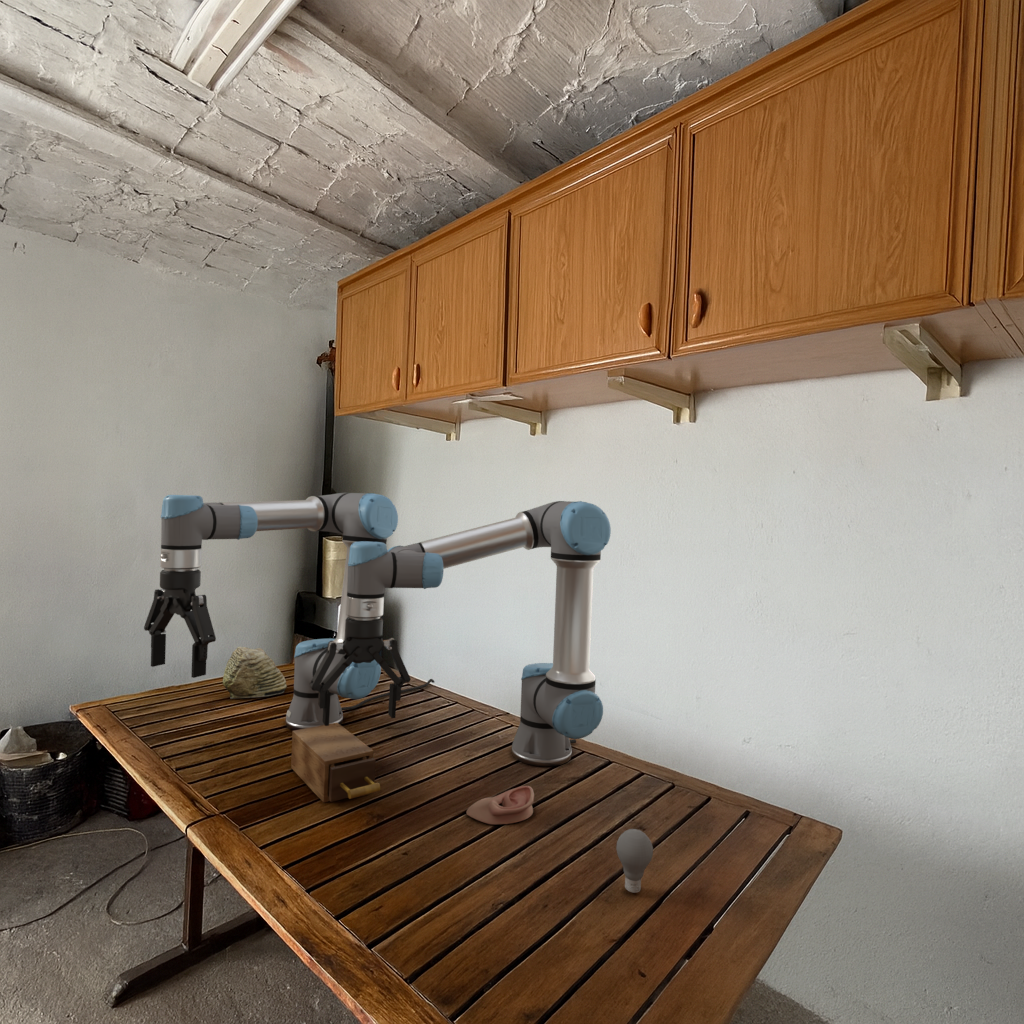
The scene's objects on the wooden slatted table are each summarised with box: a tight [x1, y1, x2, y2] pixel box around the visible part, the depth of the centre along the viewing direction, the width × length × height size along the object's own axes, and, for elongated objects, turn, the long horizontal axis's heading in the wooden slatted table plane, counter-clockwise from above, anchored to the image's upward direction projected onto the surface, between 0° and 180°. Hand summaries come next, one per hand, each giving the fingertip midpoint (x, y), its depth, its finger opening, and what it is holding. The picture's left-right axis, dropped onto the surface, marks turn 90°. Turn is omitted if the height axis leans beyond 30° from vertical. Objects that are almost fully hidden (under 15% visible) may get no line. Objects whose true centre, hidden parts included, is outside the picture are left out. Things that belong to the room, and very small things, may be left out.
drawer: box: [328, 756, 381, 803], centre depth 138 cm, size 25×10×7 cm, turn 38°
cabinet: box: [290, 723, 374, 803], centre depth 142 cm, size 20×11×9 cm, turn 38°
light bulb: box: [615, 828, 654, 894], centre depth 106 cm, size 6×6×10 cm
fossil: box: [222, 646, 288, 699], centre depth 198 cm, size 9×18×15 cm, turn 132°
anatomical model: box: [465, 785, 535, 825], centre depth 130 cm, size 13×4×12 cm
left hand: (177, 670), depth 132 cm, fingers open, 13 cm apart
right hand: (359, 719), depth 130 cm, fingers open, 13 cm apart
